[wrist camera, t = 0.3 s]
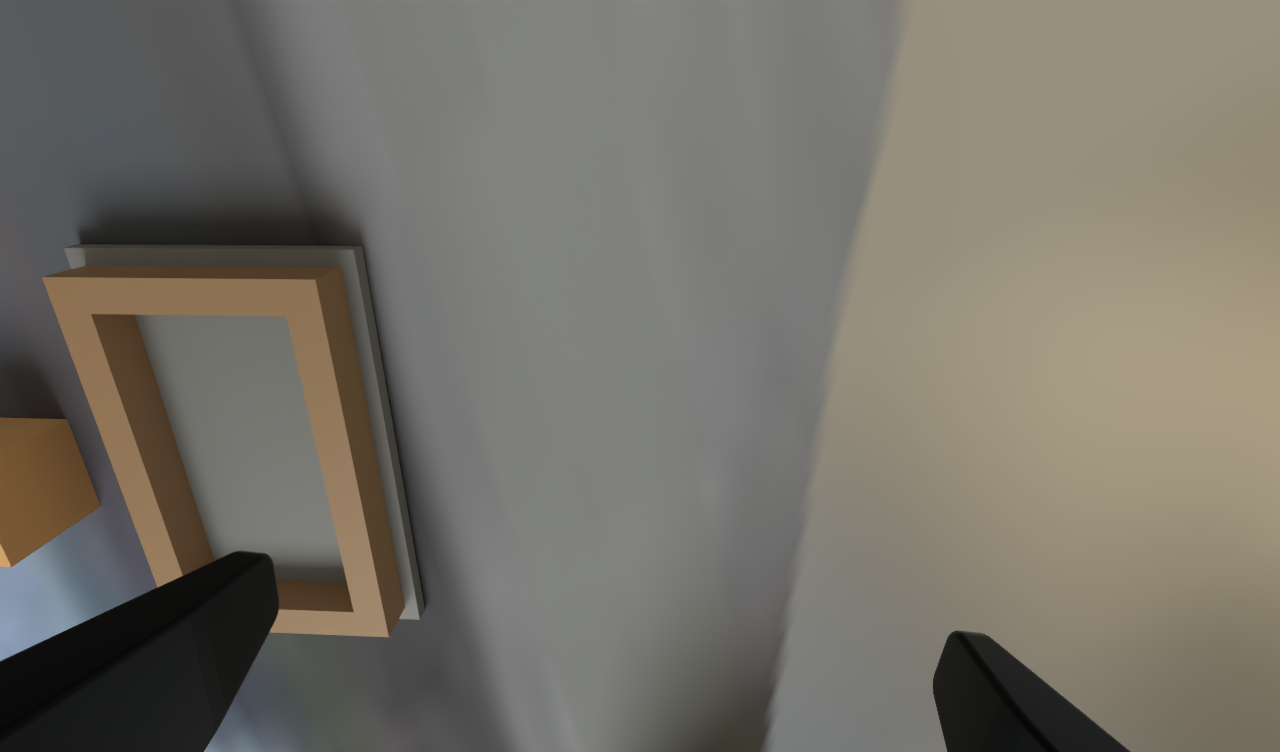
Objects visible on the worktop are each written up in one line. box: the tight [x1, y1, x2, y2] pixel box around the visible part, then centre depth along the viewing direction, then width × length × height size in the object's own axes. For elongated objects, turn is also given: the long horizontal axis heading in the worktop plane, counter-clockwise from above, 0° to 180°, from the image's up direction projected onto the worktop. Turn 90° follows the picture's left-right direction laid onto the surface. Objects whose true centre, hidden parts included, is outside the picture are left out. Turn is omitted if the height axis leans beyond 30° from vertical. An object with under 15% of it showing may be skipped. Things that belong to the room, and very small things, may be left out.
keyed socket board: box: [42, 244, 425, 637], centre depth 24 cm, size 16×10×2 cm, turn 0°
